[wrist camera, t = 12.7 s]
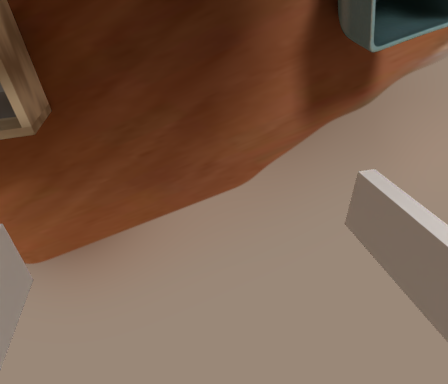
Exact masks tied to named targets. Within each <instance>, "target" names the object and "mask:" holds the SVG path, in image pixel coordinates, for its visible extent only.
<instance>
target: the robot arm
mask: <svg viewBox="0 0 448 384" xmlns="http://www.w3.org/2000/svg"><path fill="white" fill-rule="evenodd" d="M345 225H346V226H347V227H348V228H349V229H350V231H351V232H352V233H353V234H354V235H355V236H356V237H357V239H358V240H359V241H360V242H361V243H362V244H363V245H364V247H365V248H366V249H367V250H368V251H369V252H370V254H371V255H372V256H373V257H374V258H375V259H376V260H377V262H378V263H379V264H380V265H381V266H382V267H383V268H384V270H385V271H386V272H387V273H388V274H389V275H390V277H391V278H392V279H393V280H394V281H395V282H396V283H397V285H398V286H399V287H400V288H401V289H402V290H403V291H404V293H405V294H406V295H407V296H408V297H409V298H410V300H411V301H412V302H413V303H414V304H415V305H416V306H417V308H419V310H420V311H421V312H422V313H423V314H424V316H425V317H426V318H427V319H428V320H429V321H430V322H431V324H432V325H433V326H434V327H435V328H436V329H437V331H438V332H439V333H440V334H441V335H442V336H443V337H444V339H445V340H446V341H447V342H448V225H447V224H446V223H444V222H443V221H442V220H440V219H439V218H438V217H437V216H435V215H434V214H433V213H431V212H430V211H429V210H427V209H426V208H425V207H423V206H422V205H421V204H420V203H418V202H417V201H416V200H414V199H413V198H412V197H410V196H409V195H408V194H407V193H405V192H404V191H403V190H401V189H400V188H399V187H398V186H396V185H395V184H394V183H392V182H391V181H390V180H388V179H387V178H386V177H384V176H383V175H382V174H381V173H379V172H378V171H377V170H375V169H373V170H366V171H359V172H358V174H357V178H356V182H355V186H354V190H353V194H352V198H351V201H350V205H349V209H348V213H347V217H346V221H345ZM32 282H33V278H32V276H31V274H30V272H29V271H28V269H27V267H26V265H25V263H24V261H23V260H22V258H21V256H20V254H19V252H18V251H17V249H16V247H15V245H14V243H13V242H12V240H11V238H10V236H9V234H8V233H7V231H6V229H5V227H4V225H3V224H0V370H1V367H2V364H3V361H4V358H5V356H6V353H7V350H8V348H9V345H10V342H11V339H12V336H13V334H14V331H15V329H16V326H17V323H18V320H19V317H20V315H21V312H22V309H23V307H24V304H25V301H26V298H27V296H28V293H29V290H30V287H31V285H32Z"/></svg>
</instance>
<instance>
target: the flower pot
mask: <svg viewBox="0 0 448 384" xmlns="http://www.w3.org/2000/svg"><path fill="white" fill-rule="evenodd" d="M338 15H339V21H340V25H341V28H342V30H343V32H344V34H345V35H346V36H347V37H348V38H349V39H351V40H352V41H354V42H355V43H357V44H359V45H360V46H362V47H364V48H365V49H367V50H369V51H370V52H373V53H374V52H377V51H380V50H383V49H385V48H388V47H391V46H394V45H396V44H399V43H402V42H404V41H407V40H410V39H413V38H415V37H418V36H421V35H424V34H427V33H430V32H433V31H436V30H439V29H442V28H445V27H448V0H338Z"/></svg>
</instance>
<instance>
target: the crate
mask: <svg viewBox="0 0 448 384" xmlns="http://www.w3.org/2000/svg"><path fill="white" fill-rule="evenodd" d="M50 113H51V108H50V106H49V103H48V101H47V98H46V96H45V93H44V91H43V88H42V86H41V83H40V81H39V78H38V76H37V73H36V71H35V68H34V66H33V63H32V61H31V58H30V56H29V54H28V51H27V49H26V46H25V44H24V41H23V39H22V36H21V34H20V31H19V29H18V26H17V24H16V21H15V19H14V16H13V14H12V11H11V9H10V6H9V4H8V1H7V0H0V140H1V139H8V138H15V137H22V136H29V135H35V134H36V133H37V131H38V130H39V128H40V127H41V125H42V124H43V123H44V121H45V120H46V118H47V117H48V115H49V114H50Z"/></svg>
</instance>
